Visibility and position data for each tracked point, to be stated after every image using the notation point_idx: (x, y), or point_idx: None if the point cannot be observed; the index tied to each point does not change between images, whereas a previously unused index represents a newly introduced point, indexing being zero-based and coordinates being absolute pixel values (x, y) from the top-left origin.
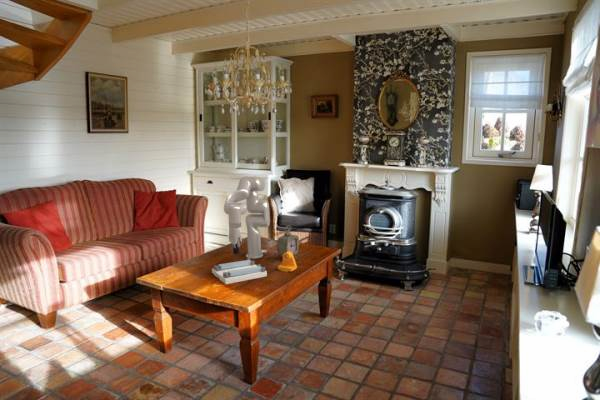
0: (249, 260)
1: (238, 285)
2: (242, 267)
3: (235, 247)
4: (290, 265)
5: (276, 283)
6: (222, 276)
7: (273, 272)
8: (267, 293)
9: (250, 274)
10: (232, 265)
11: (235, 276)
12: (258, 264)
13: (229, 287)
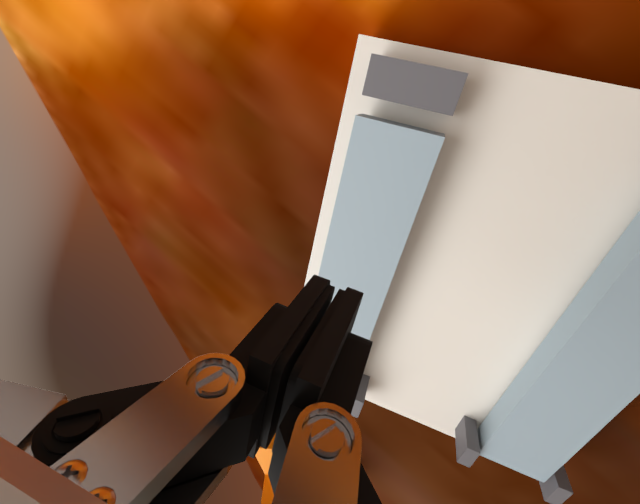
0: (525, 470)
1: (275, 114)
2: (500, 359)
3: (180, 376)
4: None
5: (179, 289)
6: (465, 66)
7: None
8: (83, 157)
9: (311, 274)
10: (580, 317)
11: None
12: (359, 409)
13: (283, 23)
